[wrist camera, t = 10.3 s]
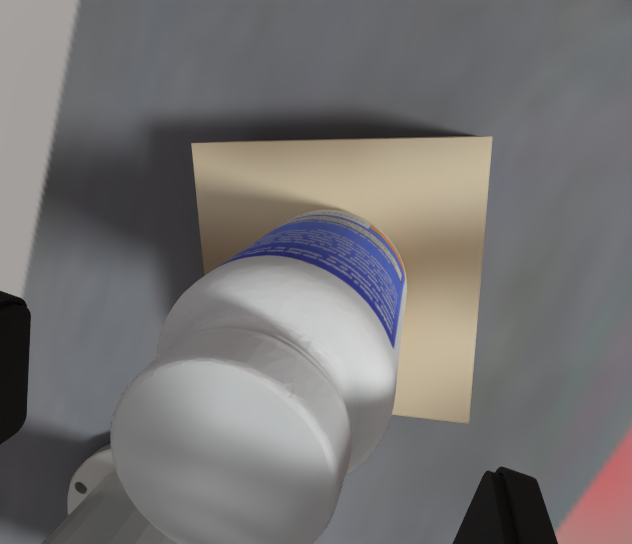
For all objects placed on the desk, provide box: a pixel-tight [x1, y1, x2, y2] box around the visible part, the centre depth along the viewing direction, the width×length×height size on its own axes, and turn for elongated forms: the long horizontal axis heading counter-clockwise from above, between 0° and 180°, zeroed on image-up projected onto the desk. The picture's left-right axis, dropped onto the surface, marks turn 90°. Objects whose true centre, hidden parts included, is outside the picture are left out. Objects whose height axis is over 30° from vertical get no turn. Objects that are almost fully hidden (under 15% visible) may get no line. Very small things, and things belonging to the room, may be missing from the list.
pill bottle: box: [110, 210, 407, 544], centre depth 12 cm, size 5×5×10 cm
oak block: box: [191, 136, 492, 423], centre depth 19 cm, size 10×10×5 cm
